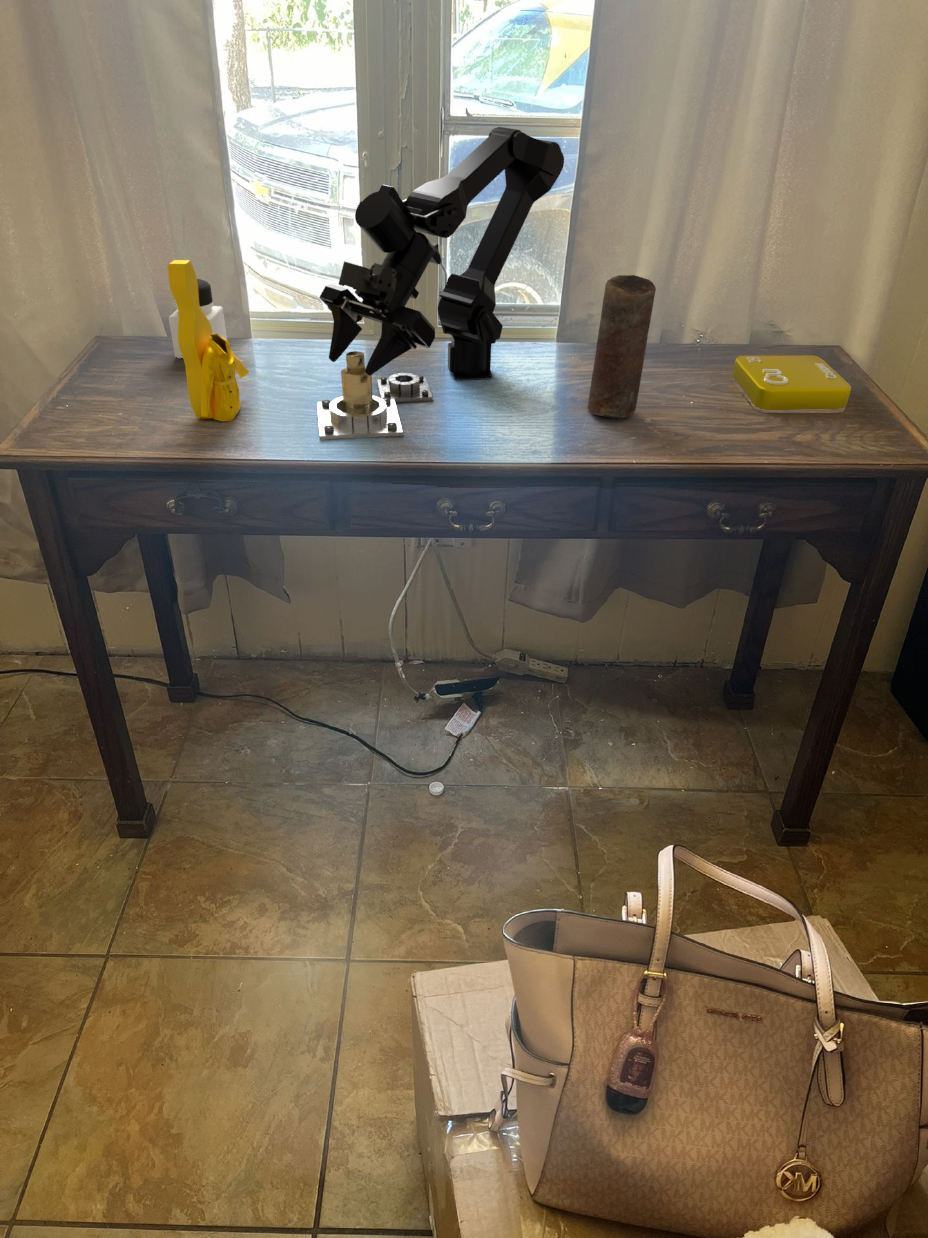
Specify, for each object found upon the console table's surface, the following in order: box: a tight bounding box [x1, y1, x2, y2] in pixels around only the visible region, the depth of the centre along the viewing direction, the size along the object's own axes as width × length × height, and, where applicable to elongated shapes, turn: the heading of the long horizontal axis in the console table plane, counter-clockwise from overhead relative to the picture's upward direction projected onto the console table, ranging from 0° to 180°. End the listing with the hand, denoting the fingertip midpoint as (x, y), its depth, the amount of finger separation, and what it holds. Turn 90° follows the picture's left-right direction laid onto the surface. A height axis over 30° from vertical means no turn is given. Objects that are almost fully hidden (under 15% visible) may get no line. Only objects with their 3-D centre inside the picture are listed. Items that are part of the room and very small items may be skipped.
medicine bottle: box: [168, 278, 228, 359], centre depth 151 cm, size 7×7×12 cm
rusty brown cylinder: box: [587, 274, 657, 420], centre depth 131 cm, size 8×7×20 cm
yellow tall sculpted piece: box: [167, 259, 249, 422], centre depth 128 cm, size 18×8×22 cm, turn 172°
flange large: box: [316, 395, 404, 441], centre depth 133 cm, size 12×12×2 cm
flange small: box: [376, 372, 433, 403], centre depth 142 cm, size 8×8×2 cm
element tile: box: [732, 354, 852, 410], centre depth 144 cm, size 15×15×5 cm
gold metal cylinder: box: [340, 350, 374, 414], centre depth 130 cm, size 4×4×10 cm
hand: (348, 366), depth 127 cm, fingers open, 7 cm apart
